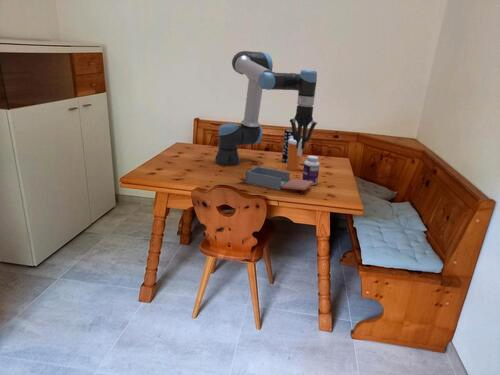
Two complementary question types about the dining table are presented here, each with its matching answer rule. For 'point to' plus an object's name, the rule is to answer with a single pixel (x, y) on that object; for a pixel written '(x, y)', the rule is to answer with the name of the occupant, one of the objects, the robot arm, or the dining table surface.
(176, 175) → the dining table surface
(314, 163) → the pill bottle
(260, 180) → the grey open box
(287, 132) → the spotted tube
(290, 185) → the tailgate
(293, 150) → the shaker bottle
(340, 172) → the dining table surface
